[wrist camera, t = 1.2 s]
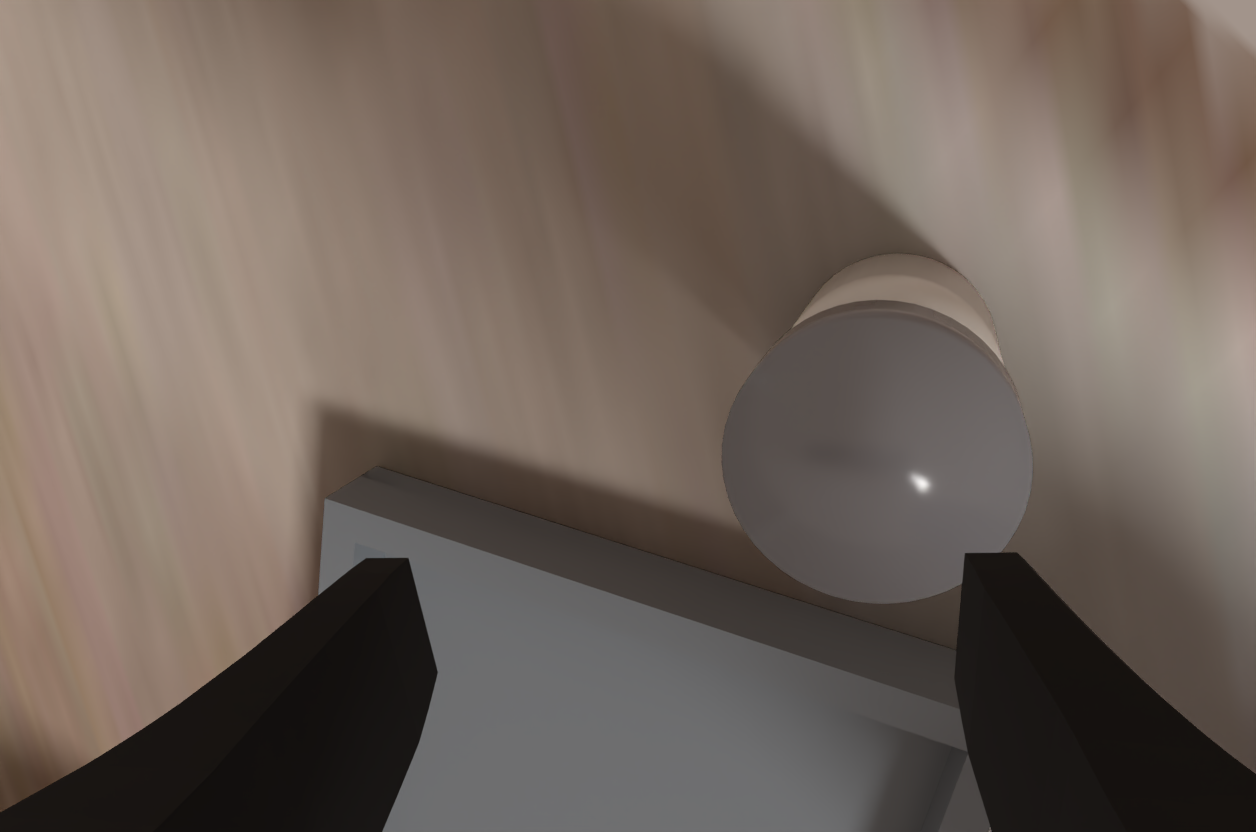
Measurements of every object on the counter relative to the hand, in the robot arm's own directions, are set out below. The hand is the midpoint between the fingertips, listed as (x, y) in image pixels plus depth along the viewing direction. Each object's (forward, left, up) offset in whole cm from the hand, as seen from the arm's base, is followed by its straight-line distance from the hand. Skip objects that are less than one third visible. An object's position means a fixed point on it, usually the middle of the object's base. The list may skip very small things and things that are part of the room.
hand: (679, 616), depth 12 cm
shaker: (-2, -1, -11) cm, 12 cm away
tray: (+2, +14, -11) cm, 18 cm away
